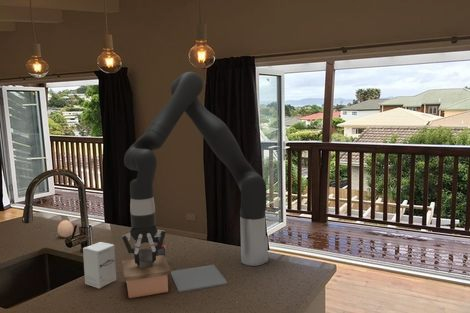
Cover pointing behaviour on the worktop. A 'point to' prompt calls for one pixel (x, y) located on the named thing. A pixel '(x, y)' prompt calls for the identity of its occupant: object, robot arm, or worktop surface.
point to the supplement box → (99, 264)
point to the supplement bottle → (162, 250)
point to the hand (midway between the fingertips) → (145, 263)
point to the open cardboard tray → (147, 286)
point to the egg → (65, 228)
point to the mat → (197, 278)
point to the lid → (145, 266)
